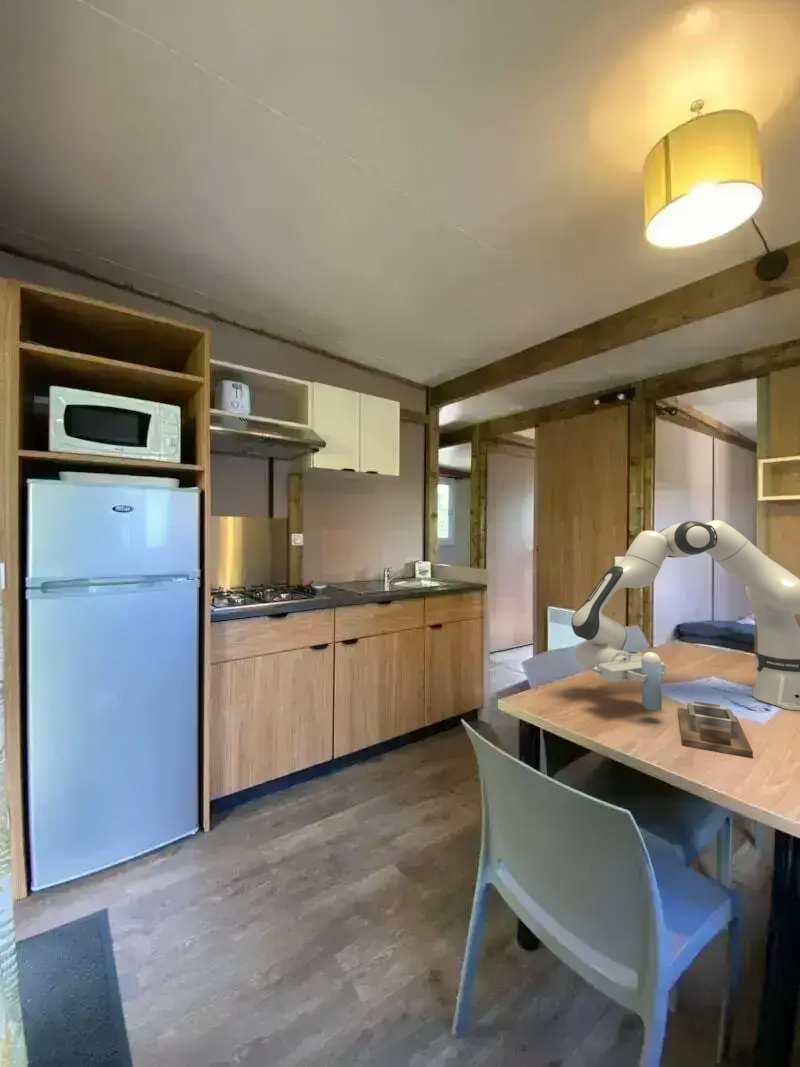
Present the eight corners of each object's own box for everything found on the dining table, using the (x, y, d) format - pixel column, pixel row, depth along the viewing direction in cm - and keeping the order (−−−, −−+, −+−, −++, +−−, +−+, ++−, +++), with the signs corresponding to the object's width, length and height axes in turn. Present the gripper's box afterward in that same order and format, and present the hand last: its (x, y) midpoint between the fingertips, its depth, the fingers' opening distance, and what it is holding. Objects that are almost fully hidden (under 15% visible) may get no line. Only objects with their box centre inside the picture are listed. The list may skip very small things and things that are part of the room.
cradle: (736, 721, 129) (736, 701, 129) (752, 758, 108) (752, 734, 108) (677, 712, 135) (677, 693, 135) (682, 745, 114) (682, 722, 114)
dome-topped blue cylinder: (661, 705, 131) (660, 651, 131) (661, 711, 127) (660, 655, 127) (642, 703, 133) (641, 649, 133) (642, 708, 129) (641, 653, 129)
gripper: (588, 657, 139) (623, 670, 126) (642, 651, 145) (681, 662, 132) (588, 678, 139) (624, 693, 126) (642, 671, 145) (681, 684, 132)
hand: (654, 677), depth 129 cm, fingers closed on dome-topped blue cylinder, 5 cm apart
